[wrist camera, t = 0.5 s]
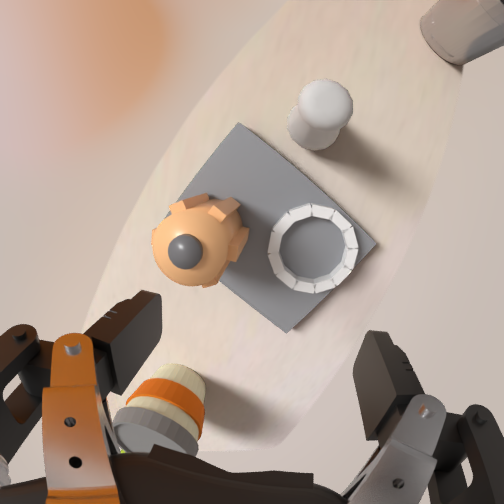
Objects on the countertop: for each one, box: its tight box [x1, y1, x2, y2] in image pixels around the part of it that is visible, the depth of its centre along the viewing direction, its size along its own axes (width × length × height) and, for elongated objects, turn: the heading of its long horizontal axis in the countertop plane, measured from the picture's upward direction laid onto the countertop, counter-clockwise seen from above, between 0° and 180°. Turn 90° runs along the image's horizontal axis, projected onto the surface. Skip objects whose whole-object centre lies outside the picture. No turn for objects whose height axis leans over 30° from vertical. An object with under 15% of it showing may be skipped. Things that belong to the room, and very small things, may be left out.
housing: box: [151, 122, 376, 333], centre depth 28 cm, size 16×21×13 cm
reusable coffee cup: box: [112, 364, 206, 457], centre depth 36 cm, size 13×13×15 cm
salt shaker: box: [287, 79, 353, 150], centre depth 24 cm, size 6×6×13 cm
